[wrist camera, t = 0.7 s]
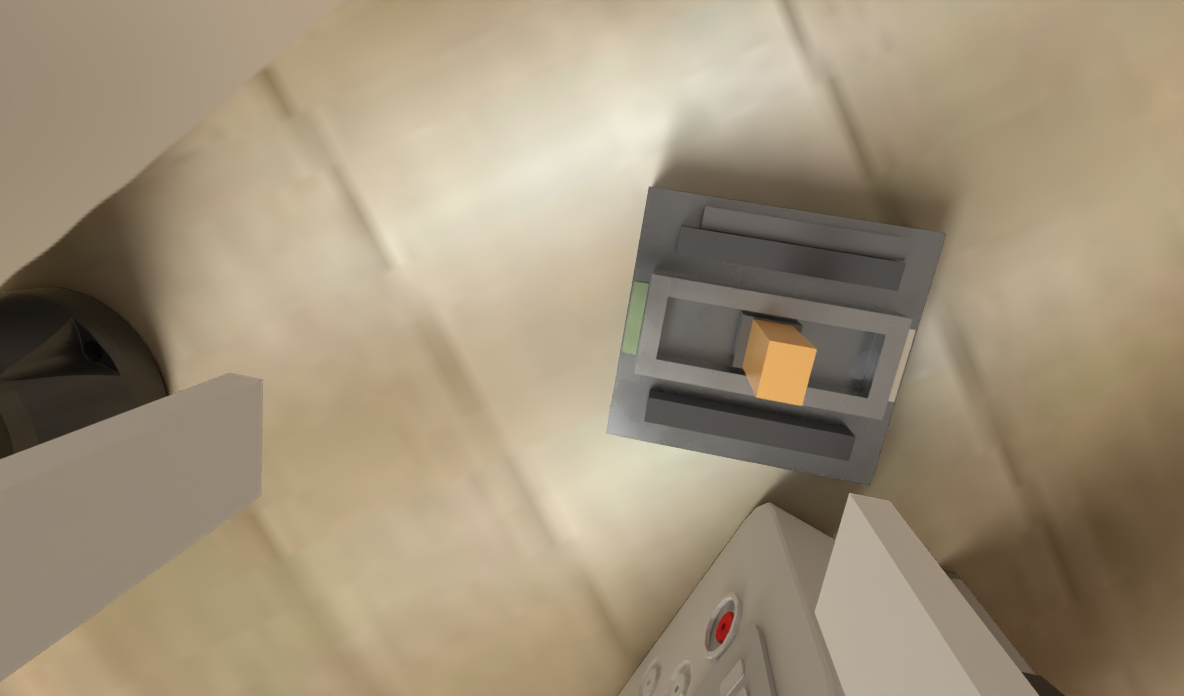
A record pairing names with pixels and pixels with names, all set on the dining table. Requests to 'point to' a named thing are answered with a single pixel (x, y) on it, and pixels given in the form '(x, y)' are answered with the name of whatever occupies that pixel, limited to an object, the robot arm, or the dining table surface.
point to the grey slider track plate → (789, 260)
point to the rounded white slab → (749, 620)
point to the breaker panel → (824, 307)
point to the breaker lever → (773, 357)
